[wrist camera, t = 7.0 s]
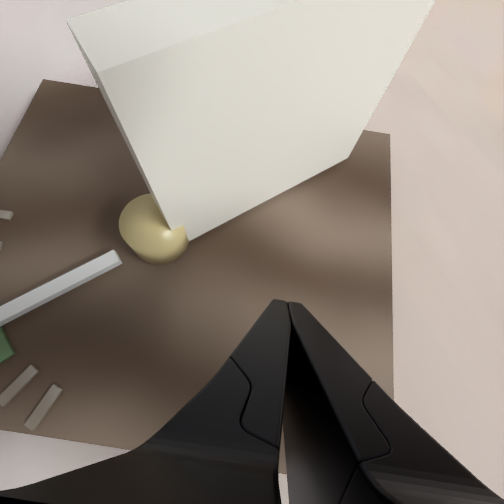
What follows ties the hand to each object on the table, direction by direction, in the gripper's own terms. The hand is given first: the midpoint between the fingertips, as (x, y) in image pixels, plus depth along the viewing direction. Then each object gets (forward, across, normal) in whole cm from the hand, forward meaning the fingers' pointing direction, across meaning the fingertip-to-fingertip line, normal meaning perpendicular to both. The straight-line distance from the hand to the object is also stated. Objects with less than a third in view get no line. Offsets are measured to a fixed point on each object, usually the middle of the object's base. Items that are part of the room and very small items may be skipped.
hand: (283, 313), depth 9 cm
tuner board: (+7, +4, +2) cm, 8 cm away
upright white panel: (+6, +4, 0) cm, 8 cm away
